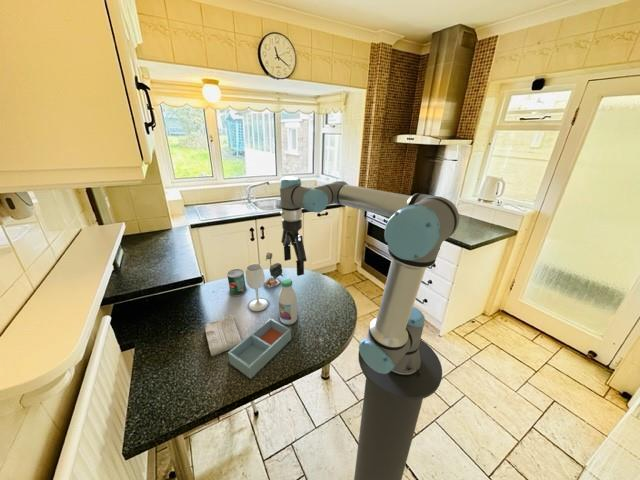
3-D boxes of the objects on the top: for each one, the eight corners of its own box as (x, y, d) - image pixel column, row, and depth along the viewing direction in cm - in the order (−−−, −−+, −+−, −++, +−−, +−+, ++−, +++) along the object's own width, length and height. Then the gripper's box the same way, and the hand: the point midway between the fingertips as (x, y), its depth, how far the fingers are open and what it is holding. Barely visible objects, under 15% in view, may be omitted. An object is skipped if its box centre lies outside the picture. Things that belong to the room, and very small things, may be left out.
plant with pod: (286, 284, 138) (284, 251, 129) (265, 289, 134) (261, 255, 125) (282, 277, 144) (280, 245, 136) (262, 281, 140) (258, 248, 132)
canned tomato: (248, 287, 135) (246, 269, 130) (241, 296, 128) (238, 278, 123) (235, 285, 136) (232, 268, 132) (227, 294, 129) (223, 276, 125)
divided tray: (291, 339, 103) (290, 329, 101) (250, 379, 87) (249, 368, 84) (271, 327, 108) (270, 318, 106) (229, 363, 92) (227, 352, 90)
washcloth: (233, 318, 113) (232, 312, 112) (243, 346, 99) (243, 340, 98) (204, 328, 108) (203, 322, 107) (211, 359, 94) (210, 352, 93)
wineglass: (256, 314, 116) (251, 274, 108) (245, 305, 122) (240, 267, 113) (271, 305, 122) (268, 267, 113) (260, 297, 127) (256, 260, 119)
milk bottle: (290, 310, 118) (288, 273, 110) (300, 319, 113) (299, 281, 105) (276, 318, 114) (273, 280, 105) (286, 327, 108) (284, 288, 100)
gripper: (271, 211, 106) (275, 256, 115) (295, 231, 86) (297, 284, 95) (288, 208, 109) (290, 252, 118) (315, 227, 89) (315, 279, 98)
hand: (293, 266), depth 106 cm, fingers open, 13 cm apart
